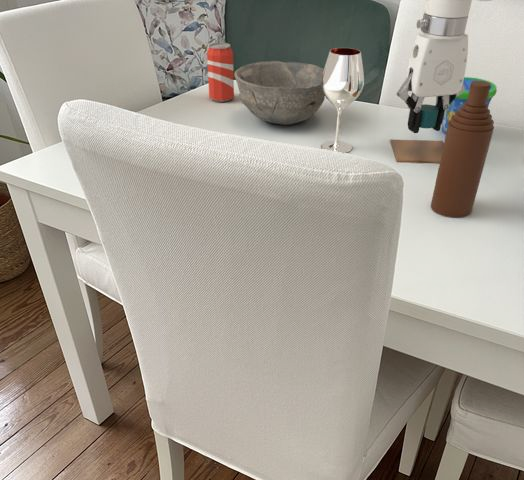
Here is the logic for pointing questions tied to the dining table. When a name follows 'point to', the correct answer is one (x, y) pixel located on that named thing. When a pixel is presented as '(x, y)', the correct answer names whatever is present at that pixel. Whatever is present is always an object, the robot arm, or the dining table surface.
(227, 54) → the beverage can
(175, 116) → the dining table surface
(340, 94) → the wineglass
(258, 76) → the bowl
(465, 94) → the snack cup
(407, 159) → the coaster
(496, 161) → the dining table surface
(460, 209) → the bottle
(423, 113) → the cap
